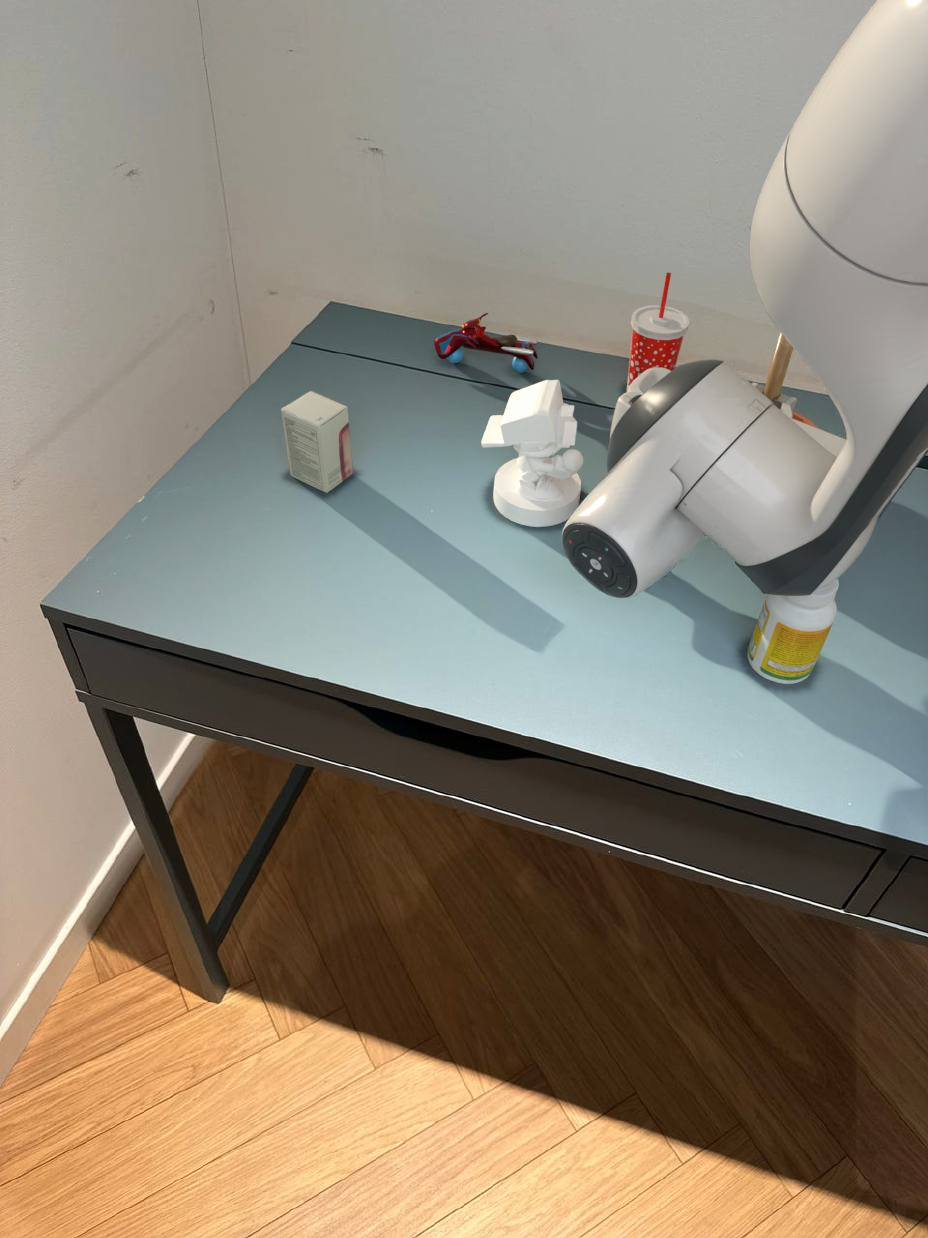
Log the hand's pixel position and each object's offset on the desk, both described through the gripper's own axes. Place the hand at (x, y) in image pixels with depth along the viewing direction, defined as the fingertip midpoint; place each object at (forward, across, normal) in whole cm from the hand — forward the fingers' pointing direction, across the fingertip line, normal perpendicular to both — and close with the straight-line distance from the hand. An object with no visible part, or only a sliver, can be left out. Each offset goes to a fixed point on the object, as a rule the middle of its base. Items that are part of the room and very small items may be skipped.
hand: (773, 396), depth 87 cm
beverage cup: (+10, +17, +12) cm, 23 cm away
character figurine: (-14, +16, +12) cm, 24 cm away
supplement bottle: (-18, -12, +12) cm, 25 cm away
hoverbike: (+2, +35, +11) cm, 37 cm away
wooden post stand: (-1, 0, +10) cm, 10 cm away
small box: (-25, +34, +12) cm, 44 cm away
